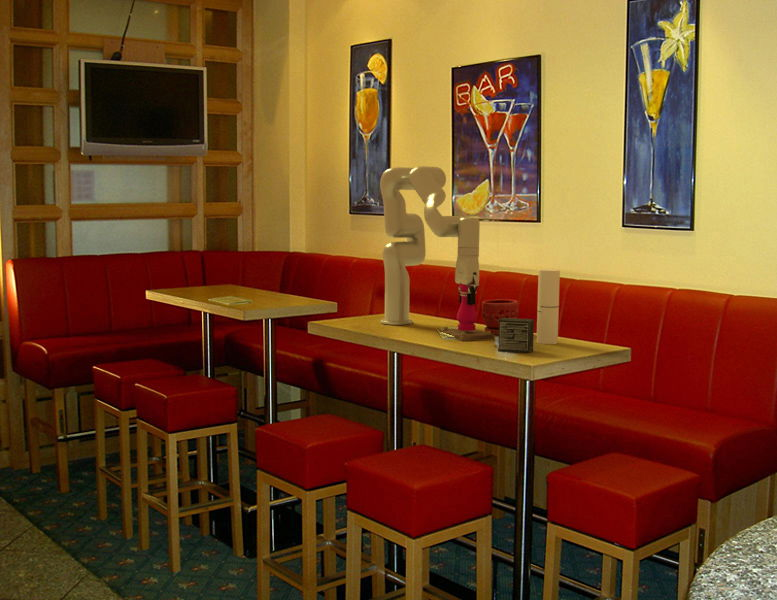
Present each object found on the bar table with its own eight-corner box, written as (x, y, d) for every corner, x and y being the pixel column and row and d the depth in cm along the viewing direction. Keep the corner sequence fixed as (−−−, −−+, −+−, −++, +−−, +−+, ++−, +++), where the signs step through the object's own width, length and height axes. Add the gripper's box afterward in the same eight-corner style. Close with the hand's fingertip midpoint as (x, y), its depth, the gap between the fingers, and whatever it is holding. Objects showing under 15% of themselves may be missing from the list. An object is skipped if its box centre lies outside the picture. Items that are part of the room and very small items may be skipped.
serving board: (439, 333, 339) (439, 326, 338) (471, 332, 344) (471, 324, 344) (461, 341, 323) (461, 333, 323) (494, 339, 328) (494, 331, 328)
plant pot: (507, 329, 350) (508, 298, 349) (523, 335, 338) (524, 302, 337) (475, 331, 346) (476, 299, 345) (490, 336, 334) (491, 303, 333)
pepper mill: (475, 331, 329) (476, 274, 327) (455, 330, 331) (456, 274, 328) (477, 328, 336) (479, 272, 334) (457, 327, 338) (458, 272, 335)
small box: (534, 350, 306) (534, 318, 305) (529, 353, 300) (530, 321, 299) (502, 348, 310) (503, 316, 308) (497, 351, 304) (498, 319, 302)
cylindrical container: (550, 344, 317) (552, 271, 314) (532, 342, 322) (534, 269, 319) (561, 342, 323) (563, 269, 320) (543, 340, 327) (545, 268, 324)
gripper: (447, 251, 336) (446, 301, 339) (470, 254, 321) (469, 307, 323) (466, 250, 339) (465, 300, 342) (489, 253, 324) (488, 306, 326)
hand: (467, 303), depth 332 cm, fingers closed on pepper mill, 5 cm apart
